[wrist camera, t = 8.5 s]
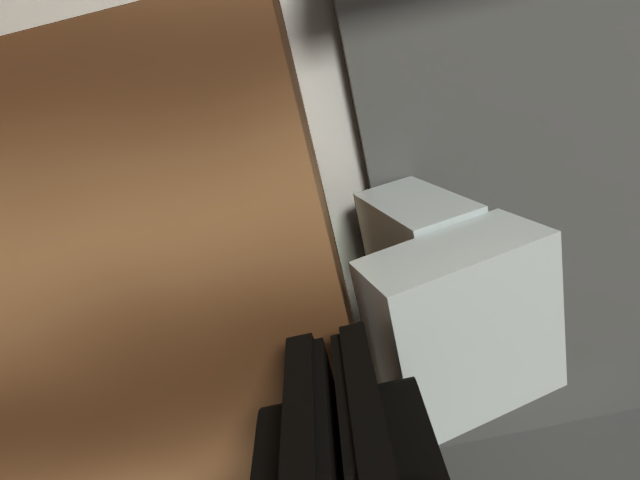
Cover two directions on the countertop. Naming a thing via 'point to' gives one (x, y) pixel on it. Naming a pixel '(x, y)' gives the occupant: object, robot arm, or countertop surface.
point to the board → (155, 240)
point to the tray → (525, 188)
